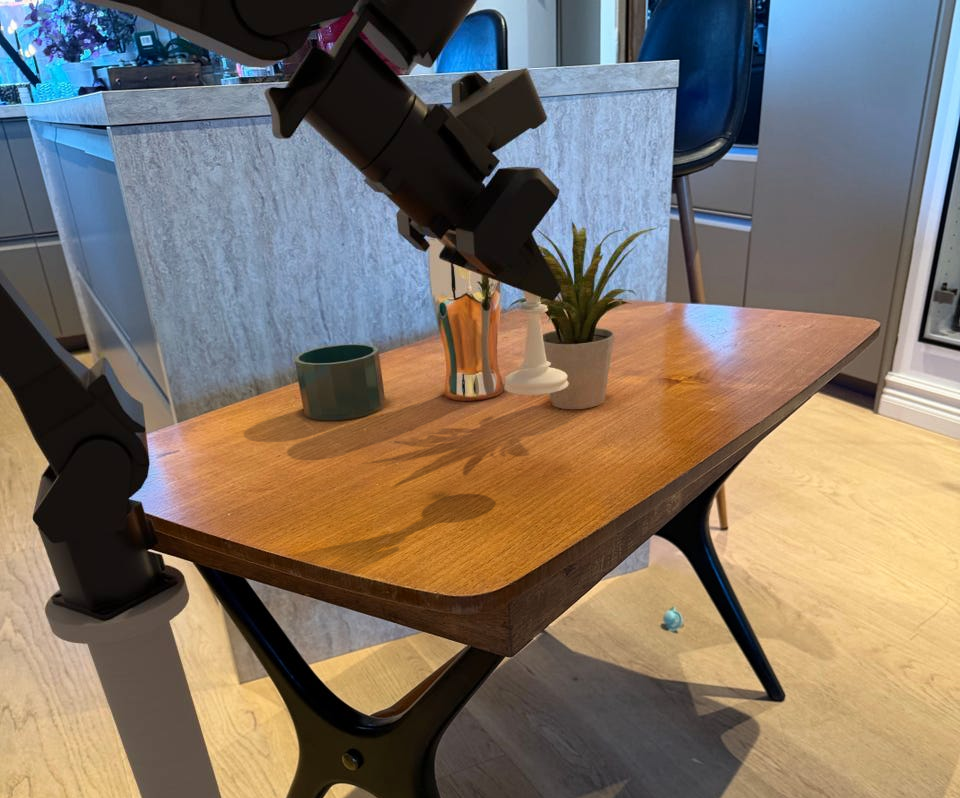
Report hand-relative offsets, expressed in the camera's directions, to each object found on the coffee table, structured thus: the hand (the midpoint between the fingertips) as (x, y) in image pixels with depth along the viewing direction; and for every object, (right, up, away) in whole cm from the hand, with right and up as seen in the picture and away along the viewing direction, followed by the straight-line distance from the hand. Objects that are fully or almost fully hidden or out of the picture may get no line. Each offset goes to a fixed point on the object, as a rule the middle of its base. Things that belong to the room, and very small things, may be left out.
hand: (550, 293), depth 65 cm
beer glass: (-6, 0, +28) cm, 28 cm away
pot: (-19, -2, +26) cm, 32 cm away
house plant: (+5, -2, +23) cm, 23 cm away
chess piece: (-1, -6, +3) cm, 7 cm away
